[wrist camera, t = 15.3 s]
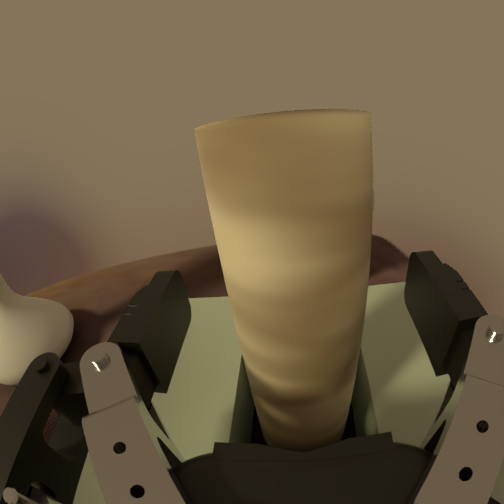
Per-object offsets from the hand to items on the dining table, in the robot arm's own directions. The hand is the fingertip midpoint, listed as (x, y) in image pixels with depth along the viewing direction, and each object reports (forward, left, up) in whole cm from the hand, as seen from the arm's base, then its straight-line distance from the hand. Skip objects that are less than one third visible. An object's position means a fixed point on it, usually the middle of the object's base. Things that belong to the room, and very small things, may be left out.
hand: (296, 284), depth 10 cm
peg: (0, -1, -11) cm, 11 cm away
